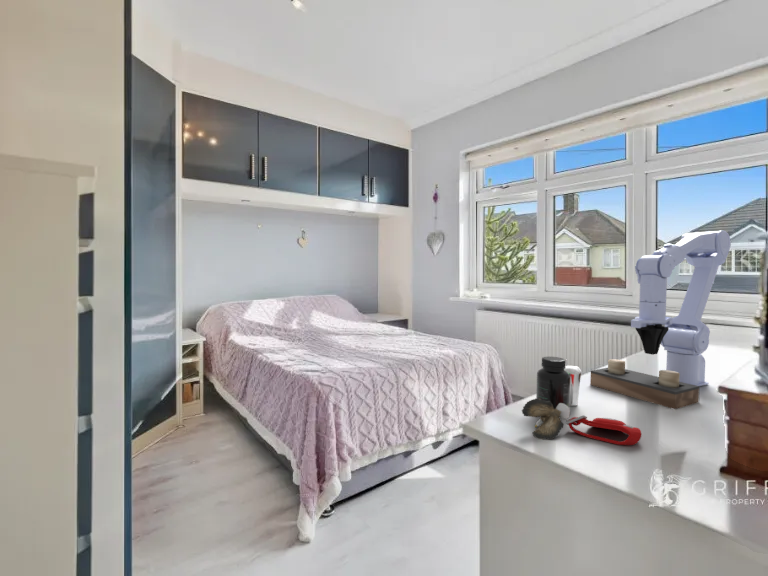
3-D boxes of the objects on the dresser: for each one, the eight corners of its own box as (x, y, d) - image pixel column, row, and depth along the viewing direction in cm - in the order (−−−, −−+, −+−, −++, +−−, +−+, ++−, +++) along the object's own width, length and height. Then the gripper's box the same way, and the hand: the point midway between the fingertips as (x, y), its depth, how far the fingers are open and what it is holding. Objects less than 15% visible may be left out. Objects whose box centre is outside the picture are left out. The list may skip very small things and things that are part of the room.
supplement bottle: (560, 406, 91) (561, 355, 90) (575, 417, 84) (576, 362, 84) (531, 406, 91) (532, 355, 90) (544, 417, 84) (545, 362, 83)
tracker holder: (606, 418, 81) (652, 424, 72) (606, 440, 80) (653, 449, 71) (560, 411, 78) (602, 416, 69) (559, 434, 77) (602, 443, 67)
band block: (613, 380, 112) (613, 366, 112) (698, 402, 93) (699, 386, 93) (590, 384, 107) (590, 370, 107) (674, 409, 89) (675, 392, 88)
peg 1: (613, 371, 109) (614, 358, 108) (628, 374, 105) (628, 361, 105) (604, 373, 107) (604, 360, 107) (618, 376, 103) (619, 363, 103)
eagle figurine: (527, 412, 84) (512, 417, 77) (548, 388, 82) (534, 390, 75) (557, 440, 79) (543, 448, 72) (580, 415, 77) (568, 420, 71)
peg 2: (664, 383, 97) (664, 369, 97) (682, 388, 93) (683, 373, 93) (655, 385, 95) (655, 371, 95) (673, 390, 92) (673, 375, 91)
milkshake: (574, 399, 95) (575, 359, 95) (583, 407, 90) (584, 364, 89) (555, 399, 96) (556, 358, 95) (563, 406, 90) (564, 364, 90)
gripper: (652, 299, 108) (651, 348, 108) (619, 301, 101) (618, 353, 102) (681, 301, 101) (679, 353, 102) (648, 303, 95) (646, 358, 96)
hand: (650, 353), depth 102 cm, fingers closed
